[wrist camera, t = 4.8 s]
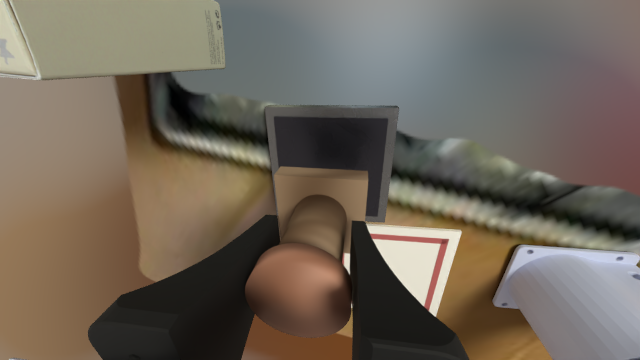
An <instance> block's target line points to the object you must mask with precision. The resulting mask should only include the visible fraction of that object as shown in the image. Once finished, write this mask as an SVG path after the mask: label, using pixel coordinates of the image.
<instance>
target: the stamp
mask: <svg viewBox="0 0 640 360" xmlns="http://www.w3.org/2000/svg"><path fill="white" fill-rule="evenodd" d="M274 180H275V189H276V198H277V207H278V216H279V225H280V234H281V241H280V243H279V245H277V246H274V247H272V248H270V249H268V250H267V251H265V252H264V253H263V254H262V255H261V256H260V258H259V259H258V261H257V263H256V265H255V267H254V269H253V271H252V273H251V275H250V276H249V278H248V280H247V282H246V286H245V297H246V300H247V303H248V305H249V306H250V308H251V309H252V311H253V312H254V313H255V314H256V315H257V316H258V317H259V318H260V319H261V320H262V321H263V322H265V323H266V324H268V325H269V326H271V327H273V328H275V329H277V330H279V331H281V332H284V333H287V334H290V335H294V336H299V337H310V338H313V337H314V338H315V337H324V336H328V335H331V334H334V333H336V332H338V331H339V330H341V329H342V328H343V327H344V326H345V325H346V324H347V322H348V321H349V318H350V315H351V304H352V280H351V277H350V274H349V272H348V271H347V269H346V268H345V266H344V265H343V264H342V260H343V253H348V254H350V245H351V226H352V220H353V221H364V222H365V214H366V202H367V190H368V171H359V170H340V169H321V168H302V167H283V166H281V167H280V168H279V169H278V171H277V172H276V173H275V174H274Z"/></svg>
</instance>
